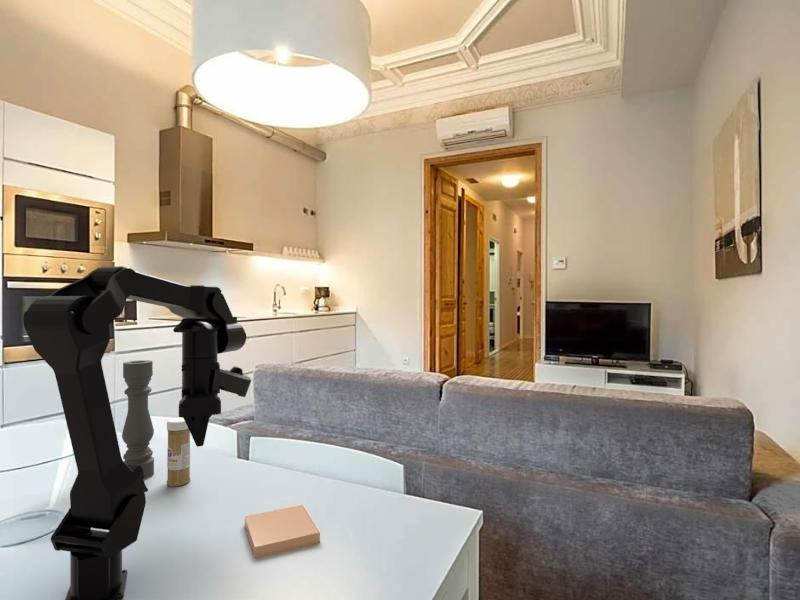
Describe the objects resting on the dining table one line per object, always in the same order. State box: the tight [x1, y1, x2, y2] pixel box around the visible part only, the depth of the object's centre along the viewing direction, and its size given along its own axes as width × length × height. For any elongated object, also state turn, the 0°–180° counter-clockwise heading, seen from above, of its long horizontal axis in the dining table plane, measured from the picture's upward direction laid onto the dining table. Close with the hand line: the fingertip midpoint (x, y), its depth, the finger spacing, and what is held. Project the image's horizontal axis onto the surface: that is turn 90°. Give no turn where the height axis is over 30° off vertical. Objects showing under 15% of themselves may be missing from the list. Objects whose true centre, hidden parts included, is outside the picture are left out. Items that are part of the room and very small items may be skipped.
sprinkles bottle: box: [166, 416, 191, 487], centre depth 98 cm, size 5×5×14 cm
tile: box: [244, 504, 321, 558], centre depth 76 cm, size 2×10×11 cm
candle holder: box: [121, 359, 155, 480], centre depth 101 cm, size 6×6×25 cm
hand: (200, 445), depth 81 cm, fingers closed
